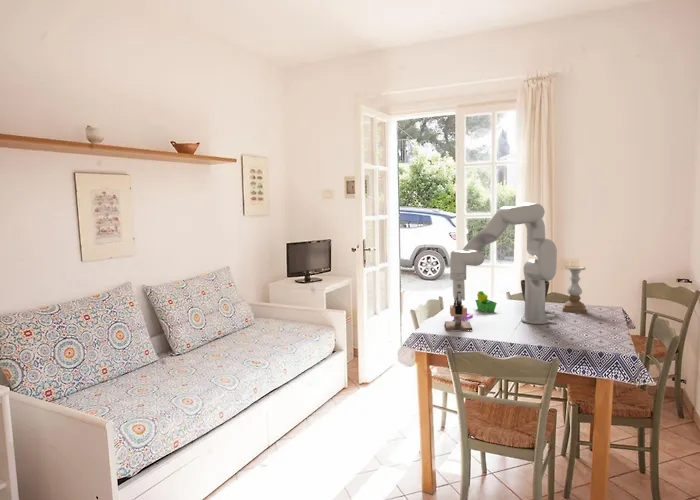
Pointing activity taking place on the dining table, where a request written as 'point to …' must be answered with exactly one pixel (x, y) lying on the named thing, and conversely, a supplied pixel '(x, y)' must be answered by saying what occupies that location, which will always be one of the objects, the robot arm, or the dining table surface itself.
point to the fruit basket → (485, 303)
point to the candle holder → (574, 292)
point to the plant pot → (524, 288)
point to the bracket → (468, 316)
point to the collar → (452, 312)
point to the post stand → (458, 324)
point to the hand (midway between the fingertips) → (457, 312)
